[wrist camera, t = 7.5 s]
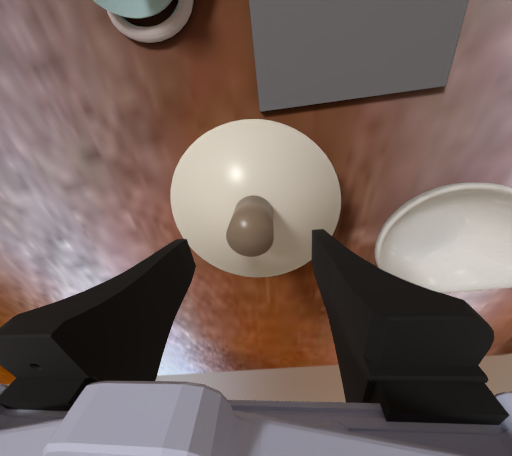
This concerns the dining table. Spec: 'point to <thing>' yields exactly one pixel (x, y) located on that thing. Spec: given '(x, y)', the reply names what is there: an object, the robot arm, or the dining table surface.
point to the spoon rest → (451, 238)
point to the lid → (254, 197)
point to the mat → (351, 48)
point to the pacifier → (142, 6)
